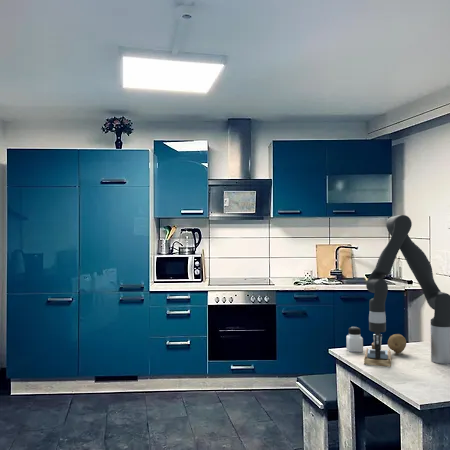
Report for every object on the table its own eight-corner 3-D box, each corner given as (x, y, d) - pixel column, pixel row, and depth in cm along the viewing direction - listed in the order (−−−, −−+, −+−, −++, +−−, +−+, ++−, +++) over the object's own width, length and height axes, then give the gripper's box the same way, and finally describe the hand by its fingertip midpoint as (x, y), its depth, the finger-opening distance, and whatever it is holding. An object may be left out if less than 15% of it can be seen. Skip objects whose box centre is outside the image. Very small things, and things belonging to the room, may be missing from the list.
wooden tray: (390, 356, 243) (390, 349, 243) (391, 366, 225) (390, 358, 225) (365, 354, 247) (365, 347, 247) (364, 364, 229) (364, 357, 229)
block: (381, 351, 253) (381, 343, 253) (381, 353, 249) (380, 344, 249) (372, 351, 255) (372, 342, 255) (371, 353, 250) (371, 344, 251)
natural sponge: (396, 356, 243) (396, 336, 243) (383, 352, 251) (383, 333, 251) (410, 354, 246) (409, 334, 247) (397, 350, 255) (397, 331, 255)
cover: (387, 354, 236) (387, 347, 236) (387, 358, 228) (387, 351, 228) (368, 353, 239) (368, 346, 239) (367, 357, 231) (367, 350, 231)
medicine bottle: (363, 351, 253) (363, 328, 253) (349, 351, 253) (349, 328, 253) (359, 348, 260) (359, 326, 260) (346, 348, 260) (346, 326, 260)
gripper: (385, 323, 220) (386, 362, 220) (385, 318, 233) (386, 355, 232) (368, 323, 222) (369, 361, 222) (369, 318, 235) (369, 354, 235)
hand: (377, 357), depth 227 cm, fingers closed
